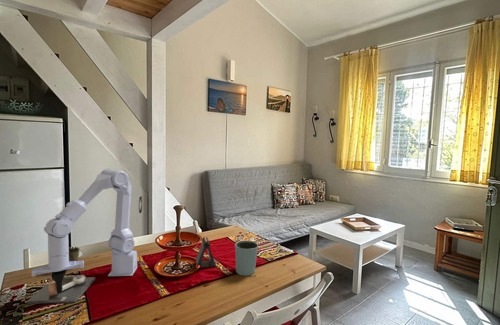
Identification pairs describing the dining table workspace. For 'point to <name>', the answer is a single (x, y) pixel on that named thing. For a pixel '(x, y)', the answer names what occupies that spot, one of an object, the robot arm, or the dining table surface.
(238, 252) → the green tumbler
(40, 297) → the lock base
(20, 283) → the dining table surface
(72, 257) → the cup
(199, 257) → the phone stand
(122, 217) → the robot arm
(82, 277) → the lever
